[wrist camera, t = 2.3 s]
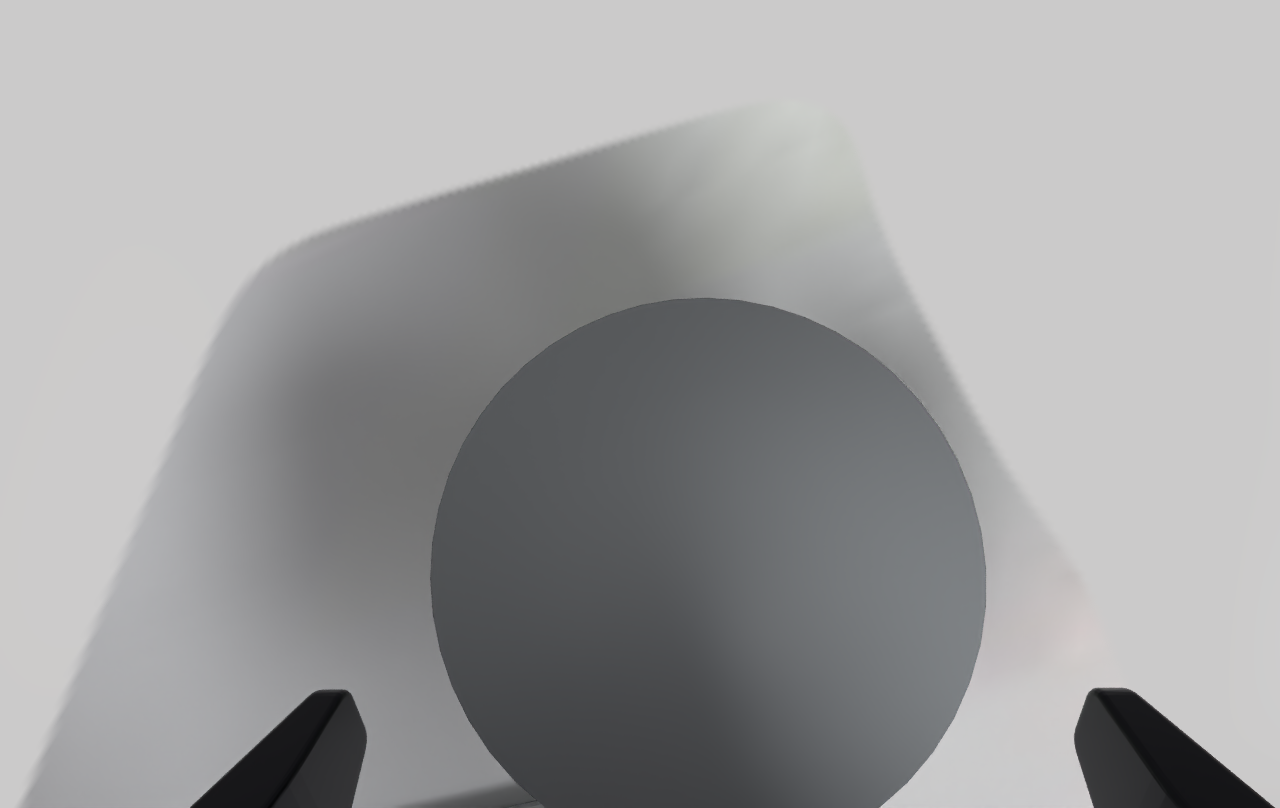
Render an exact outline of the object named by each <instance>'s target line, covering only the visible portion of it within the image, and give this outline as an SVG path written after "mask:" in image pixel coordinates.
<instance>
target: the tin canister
mask: <svg viewBox="0 0 1280 808" xmlns="http://www.w3.org/2000/svg"><path fill="white" fill-rule="evenodd" d="M430 580H431V594H432V608H433V617H434V622H435V627H436V632H437V637H438V642H439V647H440V652H441V655H442V658H443V661H444V664H445V667H446V670H447V673H448V676H449V679H450V682H451V685H452V687H453V689H454V691H455V693H456V695H457V697H458V699H459V701H460V704H461V706H462V708H463V710H464V712H465V714H466V716H467V718H468V720H469V722H470V723H471V725H472V726H473V728H474V729H475V731H476V732H477V734H478V735H479V737H480V738H481V740H482V741H483V743H484V744H485V746H486V747H487V749H488V750H489V752H490V753H491V754H492V755H493V757H494V758H495V759H496V760H497V761H498V762H499V763H500V765H501V766H502V767H503V768H504V769H505V770H506V771H507V773H508V774H509V775H510V776H511V777H512V778H513V779H514V781H515V782H516V783H518V784H519V785H520V786H521V787H522V788H523V789H524V790H526V791H527V792H528V793H529V794H530V795H531V796H532V797H534V798H535V799H536V800H537V801H538V802H539V803H540V804H542V805H543V806H544V807H545V808H879V807H881V806H882V805H883V804H884V803H885V802H886V801H887V800H888V799H890V798H891V797H892V796H893V795H894V794H895V793H896V792H897V791H899V790H900V789H901V788H902V787H903V786H904V785H905V784H906V783H908V781H909V780H910V779H911V778H912V777H913V775H914V774H915V773H916V772H917V771H918V769H919V768H920V767H921V766H922V765H923V764H924V762H925V761H926V760H927V759H928V758H929V756H930V755H931V754H932V753H933V752H934V750H935V748H936V747H937V745H938V743H939V742H940V740H941V739H942V737H943V735H944V734H945V732H946V731H947V729H948V727H949V726H950V724H951V722H952V721H953V719H954V717H955V715H956V713H957V711H958V708H959V706H960V704H961V701H962V699H963V697H964V695H965V692H966V690H967V688H968V685H969V683H970V680H971V677H972V673H973V669H974V666H975V662H976V659H977V655H978V652H979V648H980V644H981V637H982V630H983V623H984V615H985V608H986V565H985V557H984V550H983V542H982V534H981V528H980V525H979V521H978V517H977V513H976V510H975V506H974V502H973V498H972V495H971V492H970V489H969V487H968V484H967V482H966V480H965V477H964V475H963V472H962V470H961V467H960V465H959V462H958V460H957V458H956V456H955V454H954V453H953V451H952V449H951V447H950V446H949V444H948V442H947V440H946V439H945V437H944V435H943V433H942V432H941V430H940V428H939V426H938V425H937V424H936V422H935V421H934V420H933V418H932V417H931V416H930V414H929V413H928V412H927V410H926V409H925V408H924V406H923V405H922V404H921V402H920V401H919V400H918V398H917V397H916V396H915V395H914V394H913V393H912V392H911V391H910V390H909V389H908V388H907V387H906V386H905V385H904V384H903V383H902V382H901V381H900V380H899V378H898V377H897V376H896V375H895V374H894V373H893V372H892V371H890V370H889V369H888V368H887V367H885V366H884V365H883V364H882V363H880V362H879V361H878V360H877V359H876V358H874V357H873V356H872V355H871V354H869V353H868V352H867V351H866V350H864V349H863V348H861V347H859V346H858V345H856V344H855V343H853V342H851V341H850V340H848V339H847V338H845V337H843V336H842V335H840V334H839V333H837V332H835V331H833V330H831V329H829V328H827V327H825V326H822V325H820V324H818V323H816V322H814V321H812V320H810V319H807V318H805V317H802V316H799V315H796V314H793V313H790V312H787V311H784V310H781V309H778V308H775V307H771V306H766V305H761V304H756V303H751V302H746V301H740V300H728V299H714V298H696V299H676V300H668V301H663V302H657V303H651V304H645V305H640V306H637V307H633V308H630V309H627V310H624V311H620V312H617V313H614V314H610V315H608V316H606V317H603V318H601V319H599V320H596V321H594V322H592V323H590V324H587V325H585V326H583V327H581V328H579V329H577V330H575V331H574V332H572V333H570V334H569V335H567V336H565V337H563V338H562V339H560V340H558V341H557V342H555V343H553V344H552V345H550V346H549V347H548V348H546V349H545V350H544V351H543V352H541V353H540V354H539V355H537V356H536V357H535V358H534V359H532V360H531V361H530V362H528V363H527V364H526V365H525V366H524V367H523V368H522V369H521V370H520V371H519V372H518V373H517V374H516V375H514V376H513V377H512V378H511V379H510V380H509V381H508V382H507V383H506V384H505V385H504V386H503V387H502V388H501V390H500V391H499V392H498V393H497V395H496V396H495V397H494V398H493V400H492V401H491V402H490V404H489V405H488V406H487V407H486V409H485V410H484V411H483V412H482V414H481V415H480V417H479V418H478V420H477V422H476V423H475V425H474V427H473V428H472V430H471V431H470V433H469V435H468V436H467V438H466V440H465V441H464V443H463V445H462V447H461V449H460V452H459V454H458V456H457V458H456V460H455V463H454V465H453V467H452V469H451V471H450V474H449V476H448V480H447V483H446V486H445V489H444V492H443V496H442V499H441V502H440V505H439V509H438V514H437V520H436V525H435V531H434V537H433V542H432V559H431V577H430Z"/></svg>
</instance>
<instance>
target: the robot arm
mask: <svg viewBox="0 0 1280 808" xmlns="http://www.w3.org/2000/svg"><path fill="white" fill-rule="evenodd" d="M1074 742H1075V749H1076V753H1077V756H1078V759H1079V762H1080V766H1081V769H1082V772H1083V775H1084V778H1085V781H1086V784H1087V788H1088V791H1089V794H1090V797H1091V800H1092V803H1093V806H1094V808H1275V807H1273V806H1272V805H1271V804H1270V803H1269V802H1267V801H1266V800H1265V799H1264V798H1263V797H1261V796H1260V795H1259V794H1258V793H1257V792H1255V791H1254V790H1253V789H1252V788H1251V787H1249V786H1248V785H1247V784H1245V783H1244V782H1243V781H1242V780H1241V779H1240V778H1238V777H1237V776H1236V775H1235V774H1234V773H1232V772H1231V771H1230V770H1229V769H1227V768H1226V767H1225V766H1224V765H1223V764H1221V763H1220V762H1219V761H1218V760H1217V759H1215V758H1214V757H1213V756H1212V755H1211V754H1209V753H1208V752H1207V751H1206V750H1205V749H1203V748H1202V747H1201V746H1200V745H1198V744H1197V743H1196V742H1195V741H1194V740H1192V739H1191V738H1190V737H1189V736H1188V735H1186V734H1185V733H1184V732H1183V731H1182V730H1180V729H1179V728H1178V727H1177V726H1175V725H1174V724H1173V723H1172V722H1171V721H1169V720H1168V719H1167V718H1166V717H1165V716H1163V715H1162V714H1161V713H1160V712H1159V711H1157V710H1156V709H1155V708H1154V707H1153V706H1151V705H1150V704H1149V703H1148V702H1146V701H1145V700H1144V699H1143V698H1142V697H1140V696H1139V695H1138V694H1136V693H1135V692H1133V691H1131V690H1129V689H1126V688H1094V689H1092V690H1091V691H1090V692H1089V693H1088V695H1087V697H1086V700H1085V703H1084V706H1083V708H1082V711H1081V714H1080V717H1079V720H1078V723H1077V726H1076V729H1075V734H1074ZM366 743H367V735H366V729H365V726H364V724H363V721H362V719H361V716H360V714H359V711H358V709H357V706H356V704H355V701H354V699H353V697H352V695H351V693H349V692H348V691H347V690H318V691H316V692H314V693H312V694H311V695H310V696H308V697H307V698H306V699H305V700H304V701H303V702H302V703H301V704H300V705H299V706H298V707H297V708H296V709H295V710H293V711H292V712H291V713H290V714H289V715H288V716H287V717H286V718H285V719H284V720H283V721H282V722H281V723H280V724H279V725H277V726H276V727H275V728H274V729H273V730H272V731H271V732H270V733H269V734H268V735H267V736H266V737H265V738H264V739H263V740H261V741H260V742H259V743H258V744H257V745H256V746H255V747H254V748H253V749H252V750H251V751H250V752H249V753H248V754H247V755H245V756H244V757H243V758H242V759H241V760H240V761H239V762H238V763H237V764H236V765H235V766H234V767H233V768H232V769H231V770H229V771H228V772H227V773H226V774H225V775H224V776H223V777H222V778H221V779H220V780H219V781H218V782H217V783H216V784H215V785H214V786H212V787H211V788H210V789H209V790H208V791H207V792H206V793H205V794H204V795H203V796H202V797H201V798H200V799H199V800H198V801H196V802H195V803H194V804H193V805H192V806H191V807H190V808H352V804H353V799H354V795H355V791H356V787H357V783H358V779H359V775H360V771H361V766H362V762H363V758H364V754H365V750H366Z"/></svg>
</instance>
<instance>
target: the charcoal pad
mask: <svg viewBox="0 0 1280 808" xmlns="http://www.w3.org/2000/svg"><path fill="white" fill-rule="evenodd" d="M506 808H545V807H544V806H543V805H542V804H540V803H539V802H538V801H534V802H529V803H525V804H520V805H515V806H511V807H506Z"/></svg>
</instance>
